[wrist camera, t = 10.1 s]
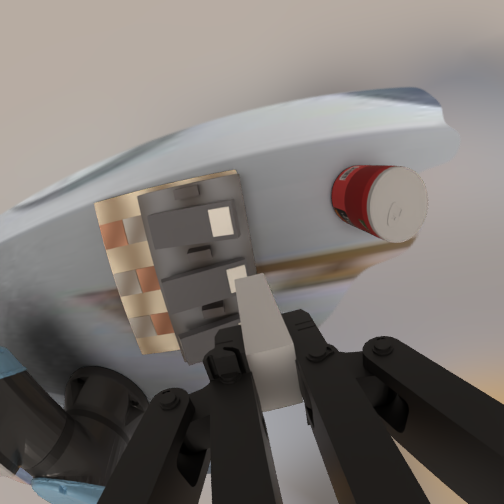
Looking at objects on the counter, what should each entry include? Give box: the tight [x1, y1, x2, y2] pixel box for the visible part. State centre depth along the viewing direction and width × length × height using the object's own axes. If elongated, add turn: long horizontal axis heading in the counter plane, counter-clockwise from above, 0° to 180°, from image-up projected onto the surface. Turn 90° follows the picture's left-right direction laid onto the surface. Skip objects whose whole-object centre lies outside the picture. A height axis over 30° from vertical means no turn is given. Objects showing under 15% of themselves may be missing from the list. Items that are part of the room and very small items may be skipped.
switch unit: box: [94, 170, 257, 362], centre depth 34 cm, size 18×22×7 cm
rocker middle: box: [161, 257, 249, 315], centre depth 31 cm, size 9×4×1 cm, turn 101°
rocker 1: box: [147, 199, 241, 250], centre depth 29 cm, size 9×4×1 cm, turn 100°
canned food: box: [332, 165, 428, 243], centre depth 32 cm, size 8×8×11 cm
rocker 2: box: [178, 314, 241, 366], centre depth 32 cm, size 9×4×1 cm, turn 101°
